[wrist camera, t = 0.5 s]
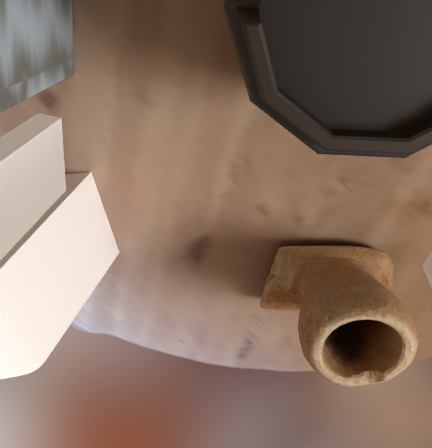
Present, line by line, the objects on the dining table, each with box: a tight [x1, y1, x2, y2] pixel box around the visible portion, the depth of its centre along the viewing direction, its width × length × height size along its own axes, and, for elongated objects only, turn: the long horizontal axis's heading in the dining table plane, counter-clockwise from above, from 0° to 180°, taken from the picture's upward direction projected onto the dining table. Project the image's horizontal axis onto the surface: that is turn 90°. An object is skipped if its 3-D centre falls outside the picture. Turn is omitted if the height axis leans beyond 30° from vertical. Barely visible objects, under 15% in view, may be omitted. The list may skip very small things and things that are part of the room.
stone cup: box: [260, 246, 418, 386], centre depth 42 cm, size 15×12×15 cm
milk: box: [0, 172, 119, 379], centre depth 39 cm, size 12×12×26 cm
